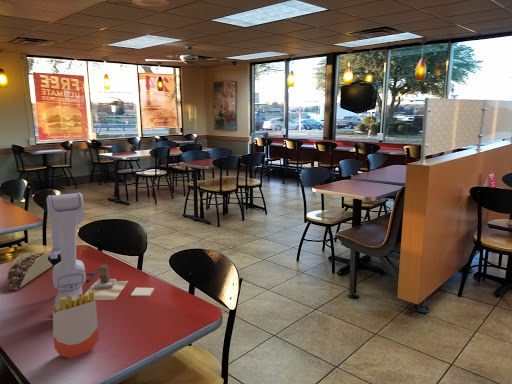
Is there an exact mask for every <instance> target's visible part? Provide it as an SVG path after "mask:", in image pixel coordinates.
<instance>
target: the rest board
mask: <svg viewBox="0 0 512 384" xmlns="http://www.w3.org/2000/svg"><path fill="white" fill-rule="evenodd" d="M95 283H96V281H95V282H94V283H93V284H92V285H91V286H90V287H89V289H87V291H86V292H84V294H83V295H88V299H89V292H90V291H93V292H94V299H95V300H97V301H98V300H103V301H104V300H110V301H111V300H116V299H117V298H118V296H119V295H120V294H121V293H122V291H123V290H124V288H125V287H126V285H127V284H128V283H129V281H128V280H116V284H115V285H114V286H113V288H94V284H95Z"/></svg>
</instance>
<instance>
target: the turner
mask: <svg viewBox="0 0 512 384" xmlns="http://www.w3.org/2000/svg"><path fill="white" fill-rule="evenodd" d="M99 269H100V272H99V278H98V279H97V280H95V282H96V283H95V282H94V283H95V284H94V283H93V284H94V288H113V286H114V285H115V284H116V281H117V278H110V270H109V265H108V264H101V265H100V266H99Z"/></svg>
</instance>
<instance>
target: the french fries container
mask: <svg viewBox="0 0 512 384" xmlns="http://www.w3.org/2000/svg"><path fill="white" fill-rule="evenodd" d="M82 294H83V292H82V293H79V297H77V298H76V300H77V303H76V300H75V299H73V300H72V296H68V301H67V302H68V304H67V302H66V298H65V297H63V298H60V308H59V306H57V305H55V304H54V305H53V307H54V308H53V309H54V310H52V330H53V331H52V332H53V333H52V336H53V344H54V349H55V350H56V353H57V354H58V355H59V356H61V357H65V358H68V359H72V358H76V357H78V356H80V355H83V354H86V353H89V352H91V350H93V348H94V347H95V345H97V342H98V341H99V340H100V338H99V337H100V336H99V335H100V334H99V327H98V323H99V322H98V313H97V301H96V300H95V299H94V292H93V291H90V292H89V299H88V295H84V294H83V299H82ZM60 310H61V311H60ZM75 356H76V357H75Z"/></svg>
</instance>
